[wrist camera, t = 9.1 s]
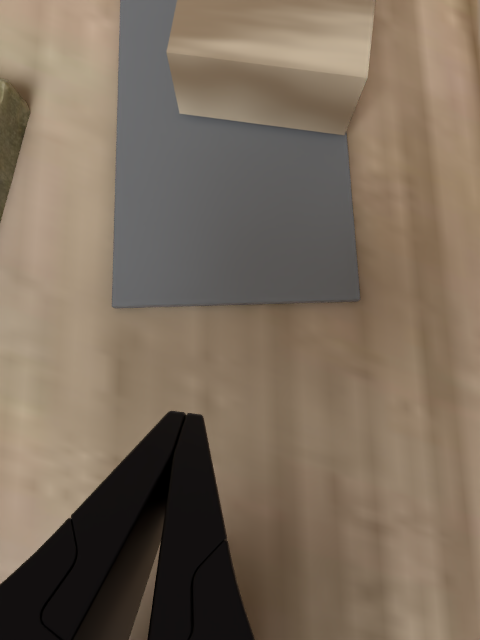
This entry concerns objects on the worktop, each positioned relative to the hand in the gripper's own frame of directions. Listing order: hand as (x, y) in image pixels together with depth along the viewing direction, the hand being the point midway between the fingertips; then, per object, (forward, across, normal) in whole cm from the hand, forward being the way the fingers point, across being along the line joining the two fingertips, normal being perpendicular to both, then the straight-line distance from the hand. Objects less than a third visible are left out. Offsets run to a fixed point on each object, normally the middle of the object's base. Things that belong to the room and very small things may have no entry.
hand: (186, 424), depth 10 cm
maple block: (+18, 0, -6) cm, 19 cm away
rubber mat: (+21, +2, -3) cm, 21 cm away
